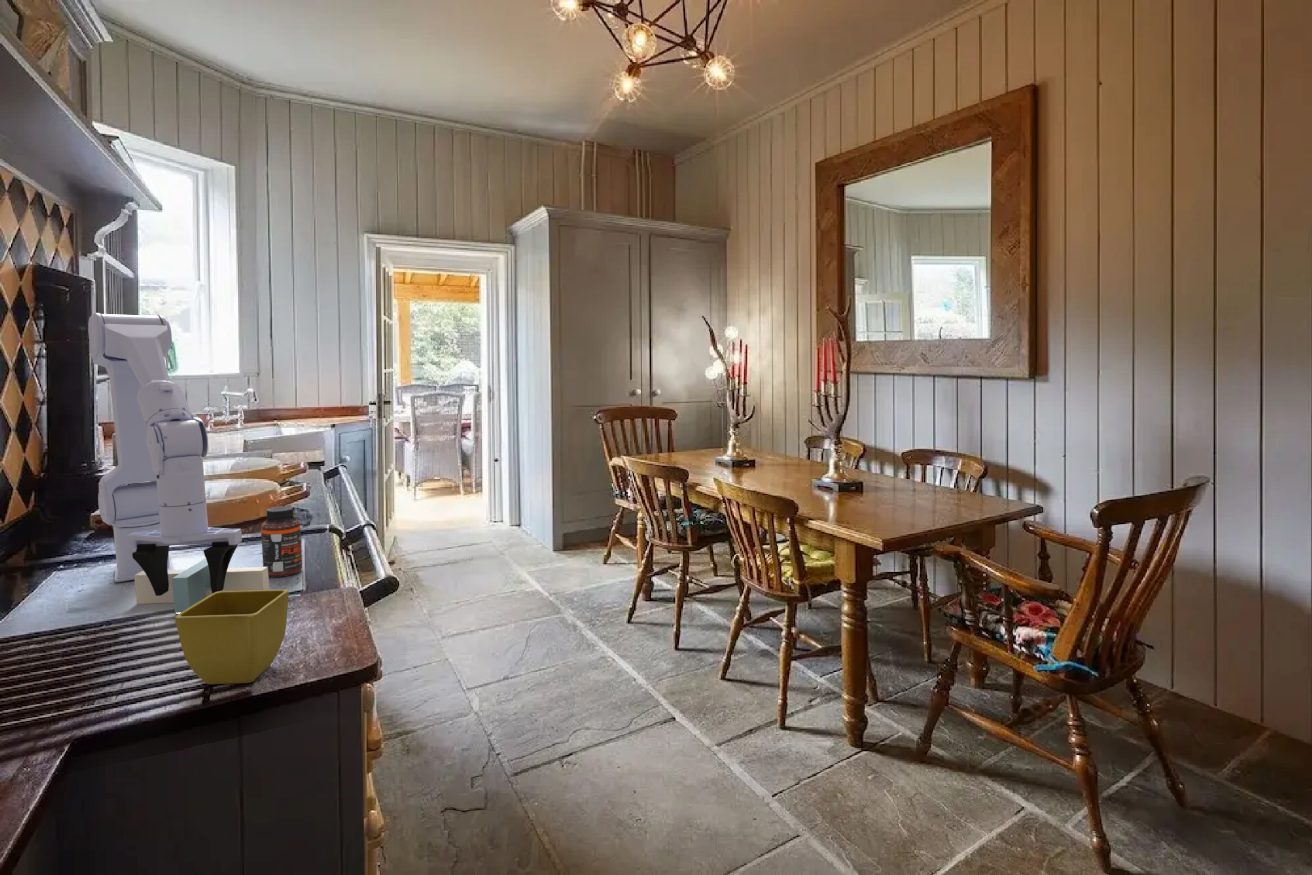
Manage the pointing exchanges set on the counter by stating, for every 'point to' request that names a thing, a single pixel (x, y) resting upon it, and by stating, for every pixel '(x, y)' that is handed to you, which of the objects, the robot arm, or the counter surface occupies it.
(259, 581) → the cream rail
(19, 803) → the counter surface
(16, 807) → the counter surface
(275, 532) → the supplement bottle
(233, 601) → the flower pot
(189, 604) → the teal notched block
